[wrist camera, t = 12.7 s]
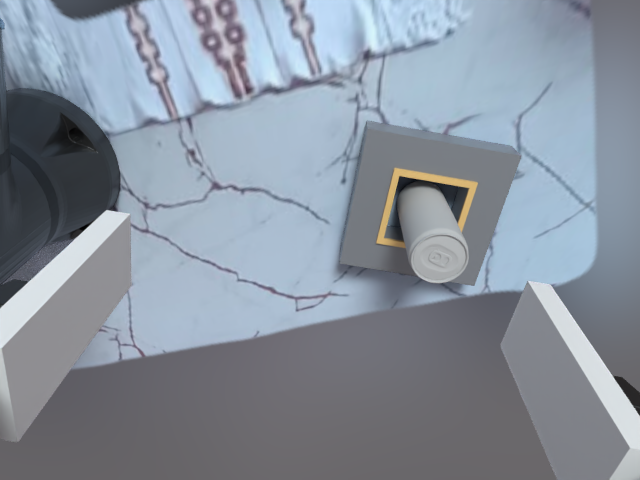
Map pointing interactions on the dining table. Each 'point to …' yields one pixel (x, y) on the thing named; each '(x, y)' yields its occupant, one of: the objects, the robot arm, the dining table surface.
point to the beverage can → (431, 233)
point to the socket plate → (431, 165)
